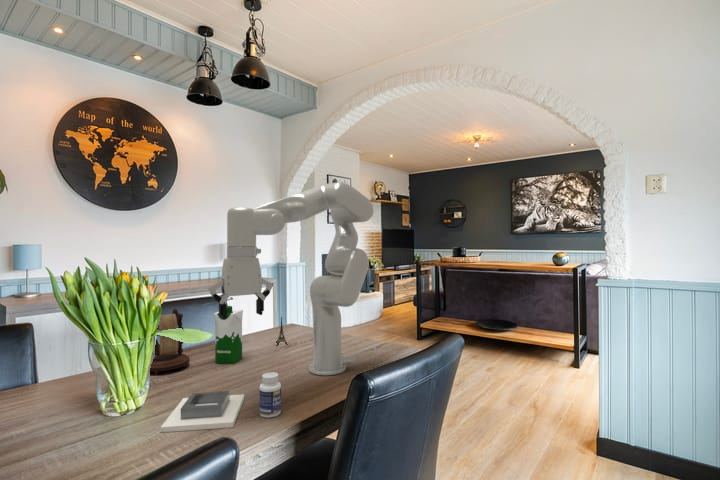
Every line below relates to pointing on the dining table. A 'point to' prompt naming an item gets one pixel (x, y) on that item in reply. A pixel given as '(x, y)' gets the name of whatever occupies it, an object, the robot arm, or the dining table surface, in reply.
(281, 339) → the eiffel tower figurine
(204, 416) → the socket collar
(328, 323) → the robot arm
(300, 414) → the dining table surface
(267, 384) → the pill bottle
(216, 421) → the socket board
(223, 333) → the milk carton
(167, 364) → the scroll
